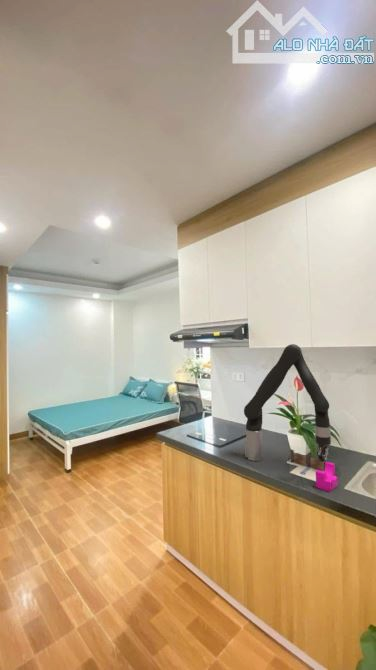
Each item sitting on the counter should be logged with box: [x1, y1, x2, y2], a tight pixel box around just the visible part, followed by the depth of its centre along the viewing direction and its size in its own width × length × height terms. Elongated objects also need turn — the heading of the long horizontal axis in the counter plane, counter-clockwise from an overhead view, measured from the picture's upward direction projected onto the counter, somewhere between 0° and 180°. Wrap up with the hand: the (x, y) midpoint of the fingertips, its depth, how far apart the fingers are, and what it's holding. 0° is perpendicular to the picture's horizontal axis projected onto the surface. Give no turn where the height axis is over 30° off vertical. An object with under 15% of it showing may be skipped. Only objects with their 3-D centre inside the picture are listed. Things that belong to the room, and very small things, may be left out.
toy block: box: [315, 461, 339, 493], centre depth 134 cm, size 15×6×8 cm, turn 135°
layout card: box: [286, 459, 317, 483], centre depth 149 cm, size 22×16×1 cm
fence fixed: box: [290, 449, 311, 467], centre depth 155 cm, size 11×2×7 cm, turn 44°
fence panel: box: [310, 457, 329, 471], centre depth 148 cm, size 9×2×6 cm, turn 41°
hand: (324, 466), depth 149 cm, fingers closed
